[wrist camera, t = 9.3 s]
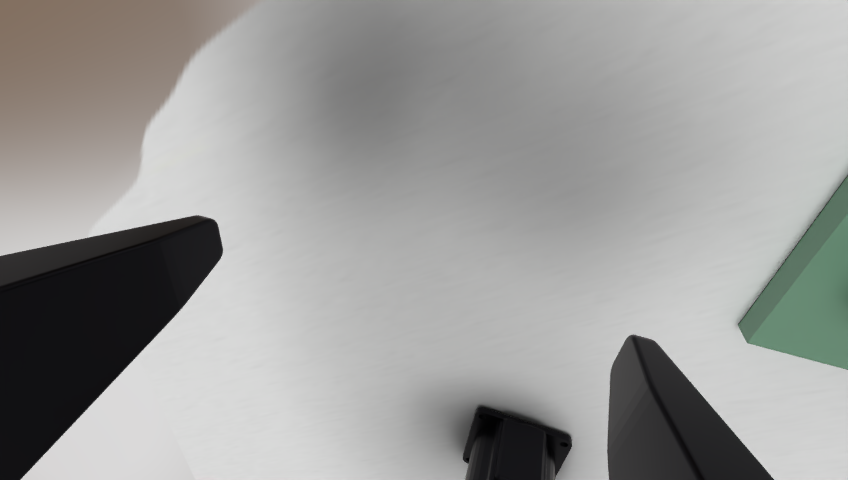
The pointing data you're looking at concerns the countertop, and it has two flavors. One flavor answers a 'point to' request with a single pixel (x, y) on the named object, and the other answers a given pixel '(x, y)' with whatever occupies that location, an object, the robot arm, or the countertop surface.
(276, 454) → the countertop surface
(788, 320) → the header board
